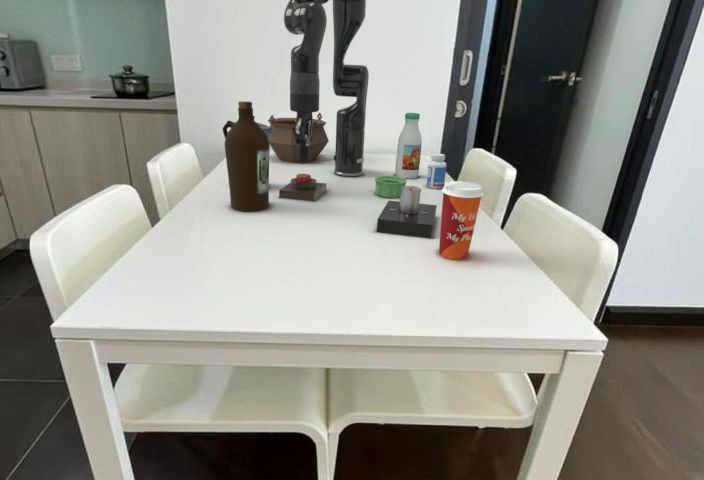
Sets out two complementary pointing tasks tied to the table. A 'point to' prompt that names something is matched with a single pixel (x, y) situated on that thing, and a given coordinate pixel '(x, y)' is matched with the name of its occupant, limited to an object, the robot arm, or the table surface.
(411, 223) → the panel
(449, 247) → the paper cup
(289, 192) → the dark brown square base
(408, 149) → the milk bottle
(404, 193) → the knob
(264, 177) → the olive oil
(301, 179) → the power button
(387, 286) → the table surface
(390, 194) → the ramekin
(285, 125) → the brown cauldron
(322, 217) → the table surface
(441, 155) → the pill bottle
